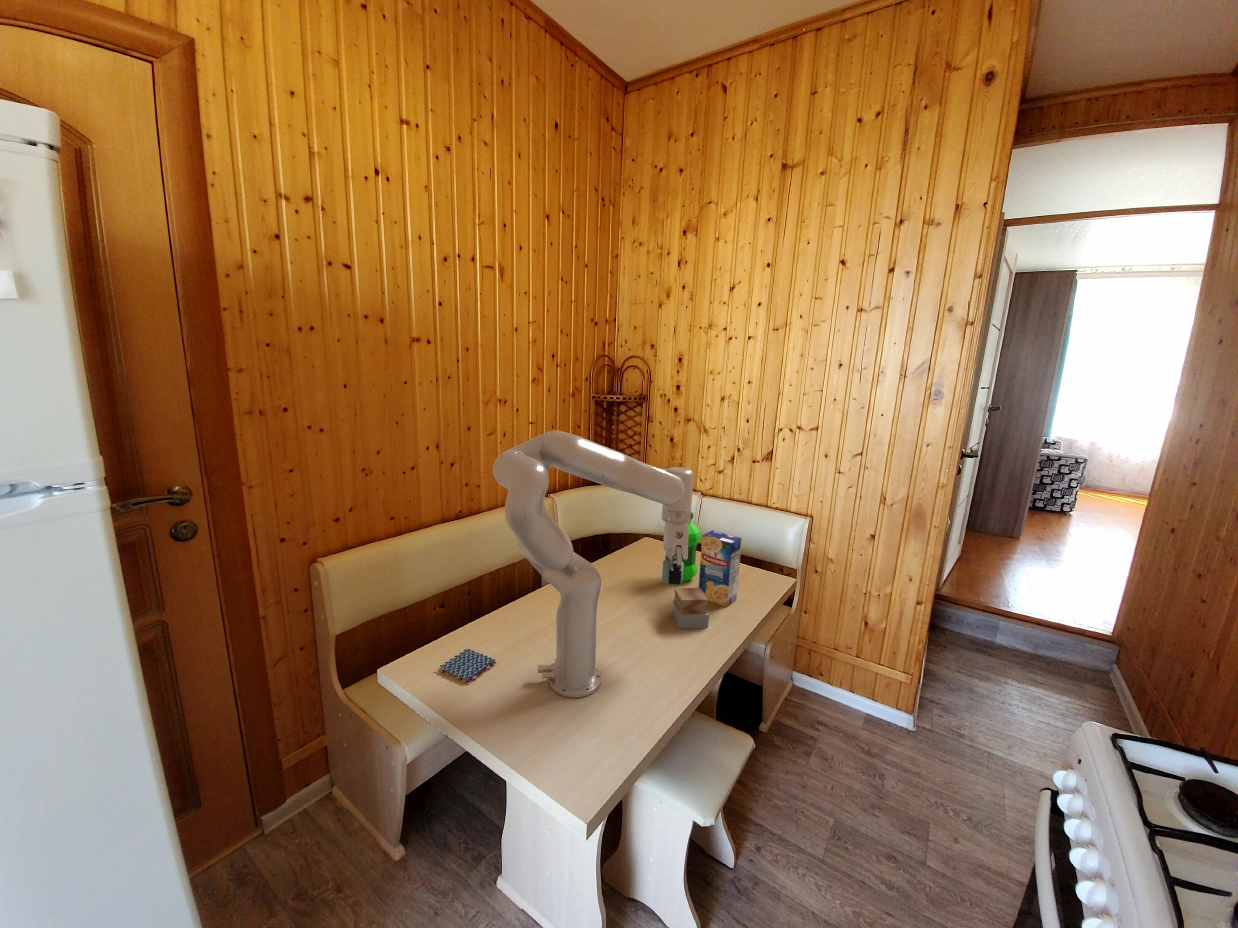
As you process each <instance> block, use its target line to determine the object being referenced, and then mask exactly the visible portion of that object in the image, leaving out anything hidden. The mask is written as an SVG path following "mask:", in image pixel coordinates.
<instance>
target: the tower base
mask: <svg viewBox="0 0 1238 928" xmlns="http://www.w3.org/2000/svg"><path fill="white" fill-rule="evenodd" d="M674 601H675V600H673V602H672V615H673V618H674V621H675V623H676V625H677V628H678V629H707V628H709V621H710V620H709V619H710V614H709V613H708V611H707V613H704V614H680V612H679V610H678V608H677V606H676V604H675V602H674Z"/></svg>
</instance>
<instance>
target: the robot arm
mask: <svg viewBox="0 0 1238 928" xmlns="http://www.w3.org/2000/svg"><path fill="white" fill-rule="evenodd" d="M551 468H555V469H557V470H559V471H562V472H564V473H566V474H570V475H572V476H575V477H579V478H581V479H585V480H588V481H591V482H594V483H597V484H599V485H602V486H605V487H607V488H611V489H614V490H616V491H620V492H625V493H628V494H631V495H636V496H639V497H641V498H644V499H647V500H649V501H653V502H656V503H659V504H661V505H662V507H661V508H662V510H661V520H662V521H663V522H664V526H663V527H664V529H663V549H664V552H665V553H664V554H665V555H664V560H667V559H670V567H671V569H669V581H668V583H669V584H668V585H671V586H678V585H681V584H682V583H681V572H682V557H683V559H684V560H687V559H688V523H689V522H690V519H691V512H692V504H693V502H692V501H693V487H694V472H693V471H692V470H691V469H689V468H687V467H681V466H680V467H679V466H671V467H668V468H657V467H655V466H652V465H650V464H647V463H646V462H643V461H640V460H638V459H636V458H633V457H631V456H629V455H627V454H625V453H622V452H620V451H617V450H615V449H612V448H610V447H607V446H604V445H601V444H599V443H597V442H595V441H592V440H589V439H586V438H584V437H582V436H580V435H576V434H573V433H570V432H567V431H562V430H557V429H555V430H552V431H551V430H550V431H548V432H545V433H541V434H540V435H538V436H534V437H533V438H531V439H528V440H527V441H524V442H522V443H519V444H517V445H515V446H512V447H511V448H508V449H507V450H505V451H503V452H502V453H500V454H499V455H498V456H497V457H496V458H495V461H494V463H493V465H492V475H493V477H494V480H495V481H496V482H497V483H498V484H499V485H500V486H501V487H503V488H505V489H506V490H507V495H506V498H505V503H504V518H505V522H506V525H507V526H508V528H509V529H510V530H511V532H512V533H513V535H515V537H516V544H517V547H518V549H519V551H520V553H521V554H522V555H523V556H524V557H525V559H526V560H527V561H528V562H529V563H530V564H531V565H532V566H533V568H535V570H536V571H537V572H538V574H540V575H541V577H543V579H545V581H547V583H548V584H550V585H551V586H552V587H553V588H554V589H555V590H557V592H559V594H560V600H559V601H560V602H559V604H558V607H557V609H556V618H555V619H556V623H555V625H556V630H555V631H556V642H555V643H556V645H555V646H556V648H555V650H556V651H555V653H556V655H555V659H554V662H551V663H550V664H538V665H537V674H541V678H542V679H549V685H550V687H551V689H552V690H553V691H554V692H555V693H557V695H560V696H563V697H566V698H583V697H586V696H589V695H592V694H594V693H595V692H596V691H597V690H598V689H599V688H600V687H601V684H602V673H601V672H600V671H599V669H598V668H597V667H596V663H597V662H596V659H597V656H596V654H597V651H596V650H597V613H598V612H597V611H598V602H599V598H600V592H601V588H602V577H601V575H600V572H599V571H598V569H597V568H596V567H595V566H594V565H593V564H592V563H591V562H590V561H588V560H587V559H585V558H583V556H581V555H579V554H577V553H576V552H574V547H573V543H572V542H571V540H570V538H569V536H568V534H566V533H565V532H564V531H563V529H562V528H561V527H560V526H559V524H558V523H557V522H556V521H555V520H554V518H553V517H552V516H551V514H550V513H549V511H548V510H547V509H546V506H545V497H546V494H547V490H548V487H549V482H550V476H549V472H548V470H549V469H551ZM673 561H676V563H674V565H673Z"/></svg>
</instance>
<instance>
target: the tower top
mask: <svg viewBox="0 0 1238 928" xmlns="http://www.w3.org/2000/svg"><path fill="white" fill-rule="evenodd" d="M673 601H674V602H675V604H676V606H677V608H678V610H679V612H680V614H704V613H707V612H708V602H709V600H708V599H707V598H706V596H705V594H704V593H703V591H702V590H701V588H699V587H676V588H674V600H673Z"/></svg>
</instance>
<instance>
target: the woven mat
mask: <svg viewBox="0 0 1238 928" xmlns="http://www.w3.org/2000/svg"><path fill="white" fill-rule="evenodd" d="M496 665H497V662H496V659H495V658H494V657H493V658H492V657H491V656H489V655H486V654H483V653H480V652H478V651H475V650H473V649H471V648H467V649H463V651H462V652H459V654H457V655H454V657H453V658H449V660H447V661H444V664H440V665H439V667H440V668H439V672H440V673H444V674H446V675H447V676H450V677H452V679H453V680H455V679H456V680H459V681H460V682H462V683H464V684H465V683H466V684H467V685H469V684H472V682H473V681H476V680H477V679H478V678H479V677H481V676H482V675H484V674H485V673H486V672H487V671H489V670H491V669H492V668H493V667H494V666H496Z"/></svg>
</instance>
